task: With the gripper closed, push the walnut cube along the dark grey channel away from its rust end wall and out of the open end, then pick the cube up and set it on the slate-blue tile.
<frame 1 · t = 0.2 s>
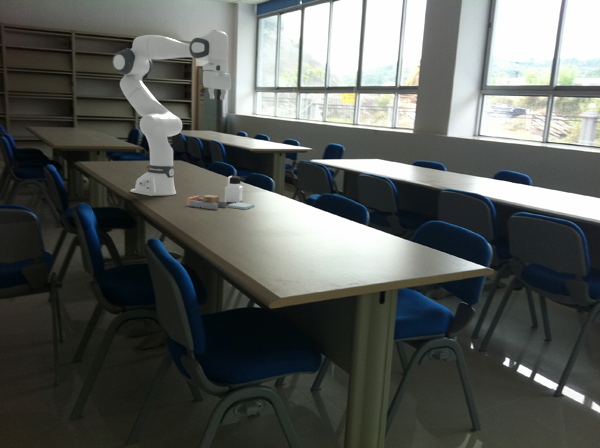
hand: (217, 99, 238), 47 cm above the table, tool pointing down, fingers open, 8 cm apart
channel: (208, 206, 233), on the table
tile: (241, 206, 237), on the table
medicine bottle: (233, 201, 251), on the table
block: (210, 207, 232), resting in channel
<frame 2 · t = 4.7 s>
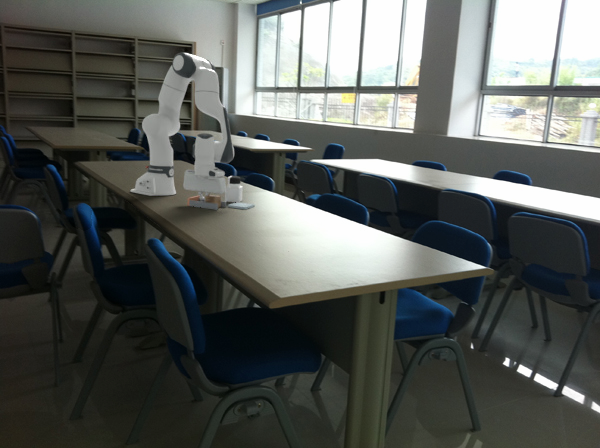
hand: (204, 201, 233), 2 cm above the table, tool pointing down, fingers closed
block: (212, 207, 232), resting in channel, touching gripper
everything else where it was.
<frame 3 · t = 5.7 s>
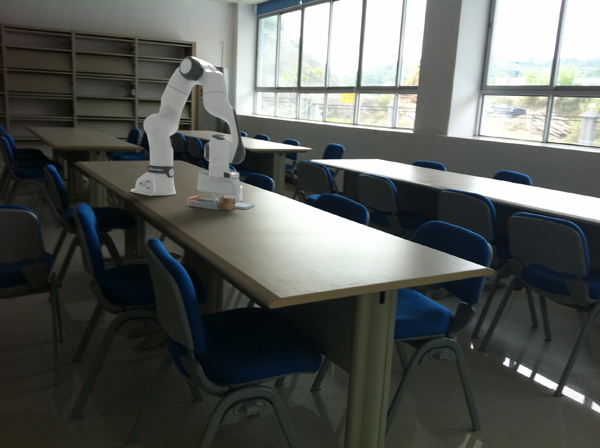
hand: (218, 203, 231), 2 cm above the table, tool pointing down, fingers closed
block: (227, 209, 230), on the table, touching gripper
everything else where it was.
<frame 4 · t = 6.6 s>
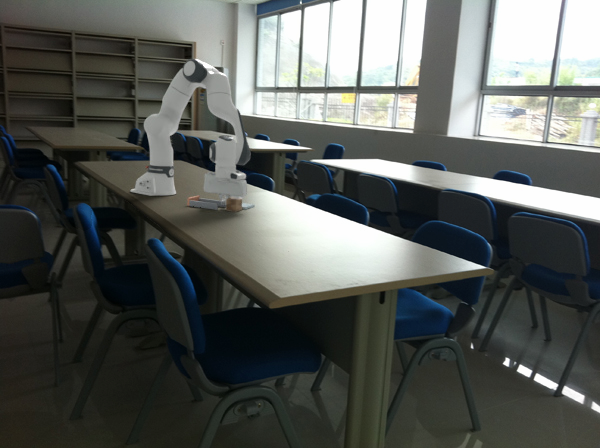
hand: (224, 204, 230), 2 cm above the table, tool pointing down, fingers closed
block: (233, 210, 228), on the table, touching gripper
everything else where it was.
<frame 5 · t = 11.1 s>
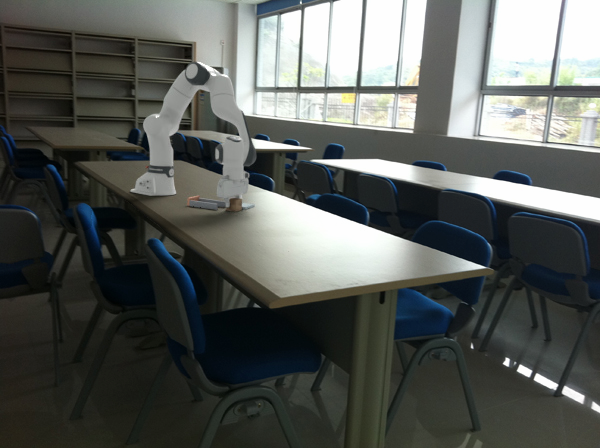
hand: (232, 206, 228), 2 cm above the table, tool pointing down, fingers closed on block, 5 cm apart
block: (233, 210, 228), on the table, touching gripper
everything else where it was.
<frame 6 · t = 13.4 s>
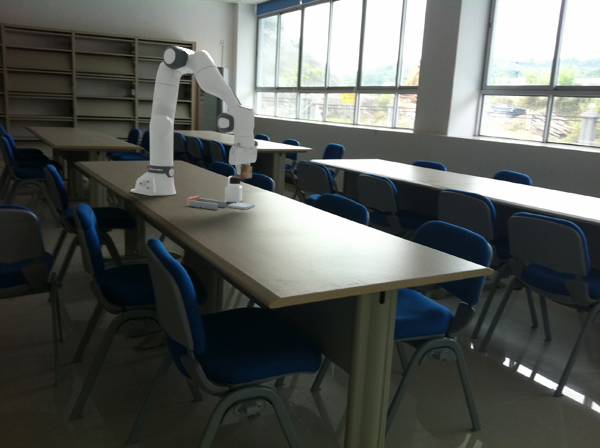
hand: (242, 173, 234), 15 cm above the table, tool pointing down, fingers closed on block, 5 cm apart
block: (244, 177, 234), point 13 cm above the table, touching gripper
everything else where it was.
when the fingers open (4 cm above the table, at t = 15.8 s): block stays where it is, resting on tile.
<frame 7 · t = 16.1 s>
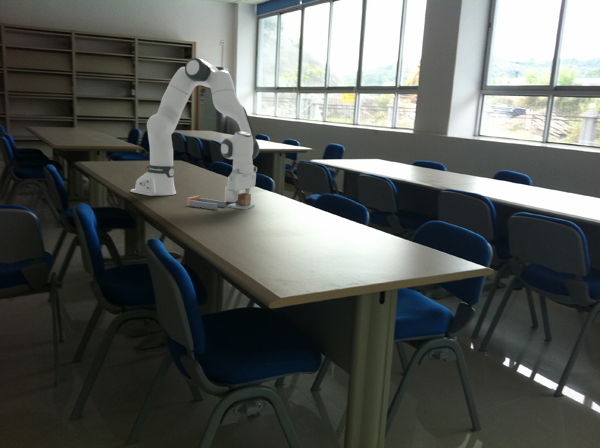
hand: (241, 198, 236), 4 cm above the table, tool pointing down, fingers open, 8 cm apart
block: (243, 204, 237), point 1 cm above the table, touching tile
everything else where it was.
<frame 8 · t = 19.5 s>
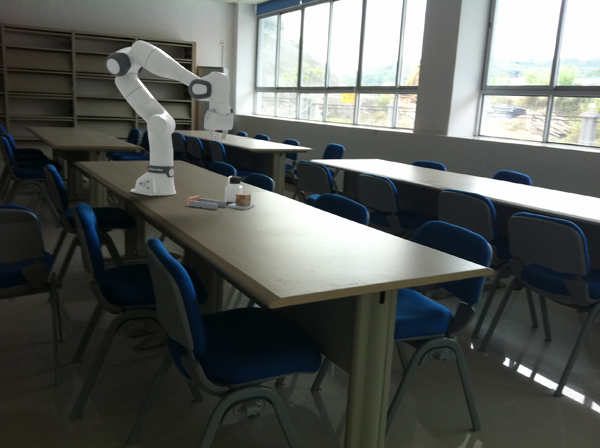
hand: (218, 140, 238), 29 cm above the table, tool pointing down, fingers open, 8 cm apart
nothing on the table moved.
at the end: block inside the target area on the tile (0.9 cm from its centre), point 1.0 cm above the tile's base; block tilted 0°; the gripper is holding nothing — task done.
